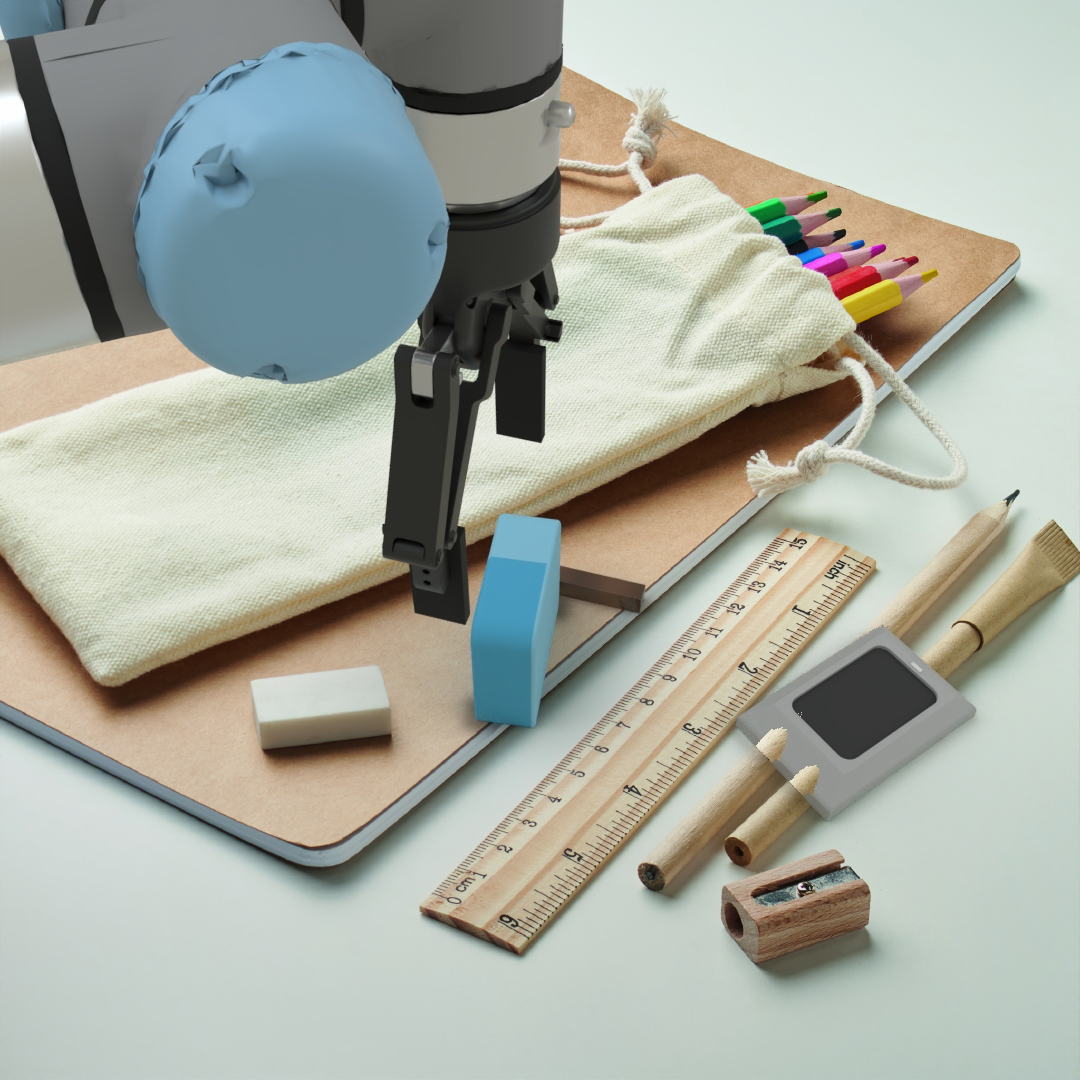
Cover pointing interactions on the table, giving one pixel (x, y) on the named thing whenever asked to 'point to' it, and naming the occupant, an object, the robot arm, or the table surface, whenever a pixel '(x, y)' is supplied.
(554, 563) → the light blue thick block
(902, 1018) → the table surface
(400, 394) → the robot arm
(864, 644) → the grey badge holder
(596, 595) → the bar
